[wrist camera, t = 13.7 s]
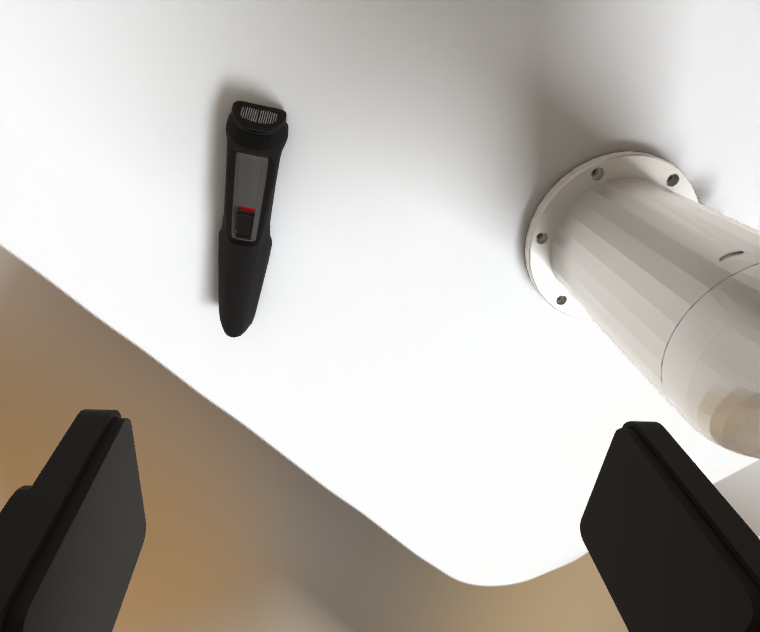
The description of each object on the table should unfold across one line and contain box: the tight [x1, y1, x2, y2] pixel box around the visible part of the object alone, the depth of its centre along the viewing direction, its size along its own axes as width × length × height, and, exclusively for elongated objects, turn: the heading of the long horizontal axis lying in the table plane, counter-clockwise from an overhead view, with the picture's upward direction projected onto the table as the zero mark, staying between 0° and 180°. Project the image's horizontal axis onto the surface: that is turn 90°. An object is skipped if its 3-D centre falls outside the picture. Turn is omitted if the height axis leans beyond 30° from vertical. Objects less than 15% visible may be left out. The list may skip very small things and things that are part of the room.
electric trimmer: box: [218, 101, 288, 337], centre depth 36 cm, size 4×16×3 cm, turn 167°
